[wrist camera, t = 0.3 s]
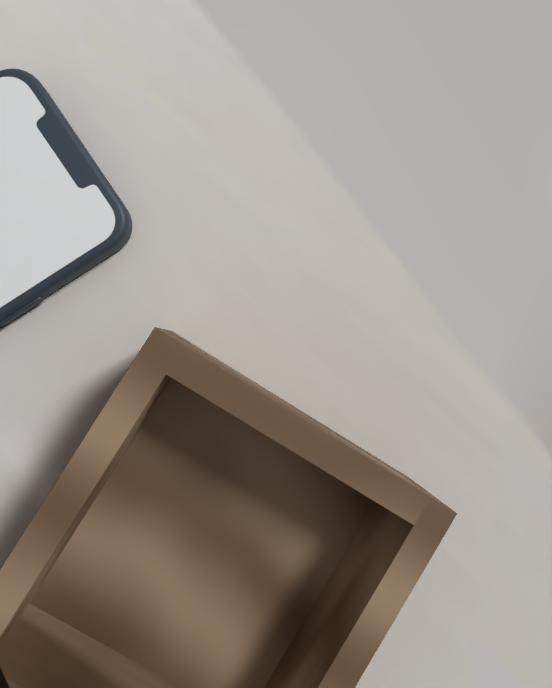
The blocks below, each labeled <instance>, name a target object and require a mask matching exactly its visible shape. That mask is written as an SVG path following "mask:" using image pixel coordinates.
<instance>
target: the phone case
mask: <svg viewBox="0 0 552 688" xmlns="http://www.w3.org/2000/svg"><path fill="white" fill-rule="evenodd" d="M131 232H132V220H131V217H130V214H129V212H128V210H127V208H126V207H125V205H124V204H123V203H122V201H121V200H120V198H119V197H118V195H117V194H116V192H115V191H114V189H113V188H112V186H111V185H110V183H109V182H108V180H107V179H106V177H105V176H104V174H103V173H102V172H101V170H100V169H99V167H98V166H97V164H96V163H95V161H94V160H93V158H92V157H91V155H90V154H89V152H88V151H87V149H86V148H85V146H84V145H83V144H82V142H81V141H80V139H79V138H78V136H77V135H76V133H75V132H74V130H73V129H72V127H71V126H70V124H69V123H68V121H67V120H66V118H65V117H64V115H63V114H62V113H61V111H60V110H59V108H58V107H57V105H56V104H55V102H54V101H53V99H52V98H51V96H50V95H49V93H48V92H47V91H46V90H45V88H44V87H43V86H42V84H41V83H40V82H39V81H38V80H37V79H36V78H35V77H34V76H33V75H31V74H29V73H28V72H26V71H23V70H19V69H5V70H2V71H0V327H1V326H3V325H6V324H8V323H10V322H11V321H13V320H14V319H16V318H18V317H19V316H21V315H22V314H24V313H25V312H27V311H28V310H30V309H31V308H33V307H35V306H36V305H38V304H39V303H41V302H42V301H43V300H44V299H45V298H46V297H48V296H49V295H51V294H52V293H54V292H55V291H57V290H58V289H60V288H62V287H63V286H65V285H66V284H68V283H69V282H71V281H72V280H74V279H75V278H77V277H79V276H80V275H82V274H83V273H85V272H86V271H88V270H89V269H91V268H92V267H94V266H96V265H97V264H99V263H100V262H102V261H103V260H105V259H106V258H108V257H109V256H111V255H113V254H114V253H116V252H117V251H119V250H120V249H121V248H123V247H124V246H125V244H126V243H127V242H128V240H129V238H130V235H131Z"/></svg>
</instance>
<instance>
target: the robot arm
mask: <svg viewBox="0 0 552 688" xmlns="http://www.w3.org/2000/svg"><path fill="white" fill-rule="evenodd" d="M0 688H10V687H9V685H8V683H7V680H6V678H5V676H4V674H3V671H2V669H1V667H0Z"/></svg>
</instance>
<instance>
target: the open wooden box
mask: <svg viewBox="0 0 552 688" xmlns="http://www.w3.org/2000/svg"><path fill="white" fill-rule="evenodd" d="M456 515H457V513H456V512H454V511H453V510H452V509H450V508H449V507H448V506H446V505H445V504H444V503H442V502H441V501H440V500H438V499H437V498H436V497H434V496H433V495H431V494H430V493H429V492H427V491H426V490H425V489H423V488H422V487H421V486H419V485H418V484H417V483H415V482H414V481H413V480H411V479H410V478H409V477H407V476H405V475H404V474H402V473H401V472H399V471H397V470H396V469H394V468H393V467H391V466H389V465H388V464H386V463H384V462H383V461H381V460H380V459H378V458H376V457H375V456H373V455H371V454H370V453H368V452H367V451H365V450H363V449H362V448H360V447H359V446H357V445H355V444H354V443H352V442H350V441H349V440H347V439H346V438H344V437H342V436H341V435H339V434H337V433H336V432H334V431H333V430H331V429H329V428H328V427H326V426H325V425H323V424H321V423H320V422H318V421H316V420H315V419H313V418H312V417H310V416H308V415H307V414H305V413H303V412H302V411H300V410H299V409H297V408H295V407H294V406H292V405H291V404H289V403H287V402H286V401H284V400H282V399H281V398H279V397H278V396H276V395H274V394H273V393H271V392H269V391H268V390H266V389H265V388H263V387H261V386H260V385H258V384H257V383H255V382H253V381H252V380H250V379H248V378H247V377H245V376H244V375H242V374H240V373H239V372H237V371H235V370H234V369H232V368H231V367H229V366H227V365H226V364H224V363H223V362H221V361H219V360H218V359H216V358H214V357H213V356H211V355H210V354H208V353H206V352H205V351H203V350H201V349H200V348H198V347H197V346H195V345H193V344H192V343H190V342H189V341H187V340H185V339H184V338H182V337H180V336H179V335H177V334H176V333H174V332H172V331H169V330H165V329H160V328H156V327H155V328H154V329H153V331H152V333H151V334H150V336H149V337H148V339H147V340H146V342H145V344H144V345H143V347H142V348H141V350H140V351H139V353H138V355H137V356H136V358H135V359H134V361H133V362H132V364H131V365H130V367H129V369H128V370H127V372H126V373H125V375H124V376H123V378H122V380H121V381H120V383H119V384H118V386H117V387H116V389H115V391H114V392H113V394H112V395H111V397H110V398H109V400H108V402H107V403H106V405H105V406H104V408H103V409H102V411H101V413H100V414H99V416H98V417H97V419H96V420H95V422H94V423H93V425H92V427H91V428H90V430H89V431H88V433H87V434H86V436H85V438H84V439H83V441H82V442H81V444H80V445H79V447H78V449H77V450H76V452H75V453H74V455H73V456H72V458H71V460H70V461H69V463H68V464H67V466H66V467H65V469H64V470H63V472H62V474H61V475H60V477H59V478H58V480H57V481H56V483H55V485H54V486H53V488H52V489H51V491H50V492H49V494H48V496H47V497H46V499H45V500H44V502H43V503H42V505H41V507H40V508H39V510H38V511H37V513H36V514H35V516H34V518H33V519H32V521H31V522H30V524H29V525H28V527H27V528H26V530H25V532H24V533H23V535H22V536H21V538H20V539H19V541H18V543H17V544H16V546H15V547H14V549H13V550H12V552H11V554H10V555H9V557H8V558H7V560H6V561H5V563H4V565H3V566H2V568H1V569H0V667H1V669H2V671H3V674H4V676H5V678H6V680H7V683H8V685H9V687H10V688H355V686H356V685H357V683H358V681H359V679H360V678H361V676H362V674H363V673H364V671H365V669H366V668H367V666H368V664H369V662H370V661H371V659H372V657H373V656H374V654H375V652H376V651H377V649H378V647H379V645H380V644H381V642H382V640H383V639H384V637H385V635H386V634H387V632H388V630H389V628H390V627H391V625H392V623H393V622H394V620H395V618H396V617H397V615H398V613H399V611H400V610H401V608H402V606H403V605H404V603H405V601H406V600H407V598H408V596H409V594H410V593H411V591H412V589H413V588H414V586H415V584H416V583H417V581H418V579H419V577H420V576H421V574H422V572H423V571H424V569H425V567H426V566H427V564H428V562H429V560H430V559H431V557H432V555H433V554H434V552H435V550H436V549H437V547H438V545H439V543H440V542H441V540H442V538H443V537H444V535H445V533H446V532H447V530H448V528H449V526H450V525H451V523H452V521H453V520H454V518H455V516H456Z"/></svg>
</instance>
